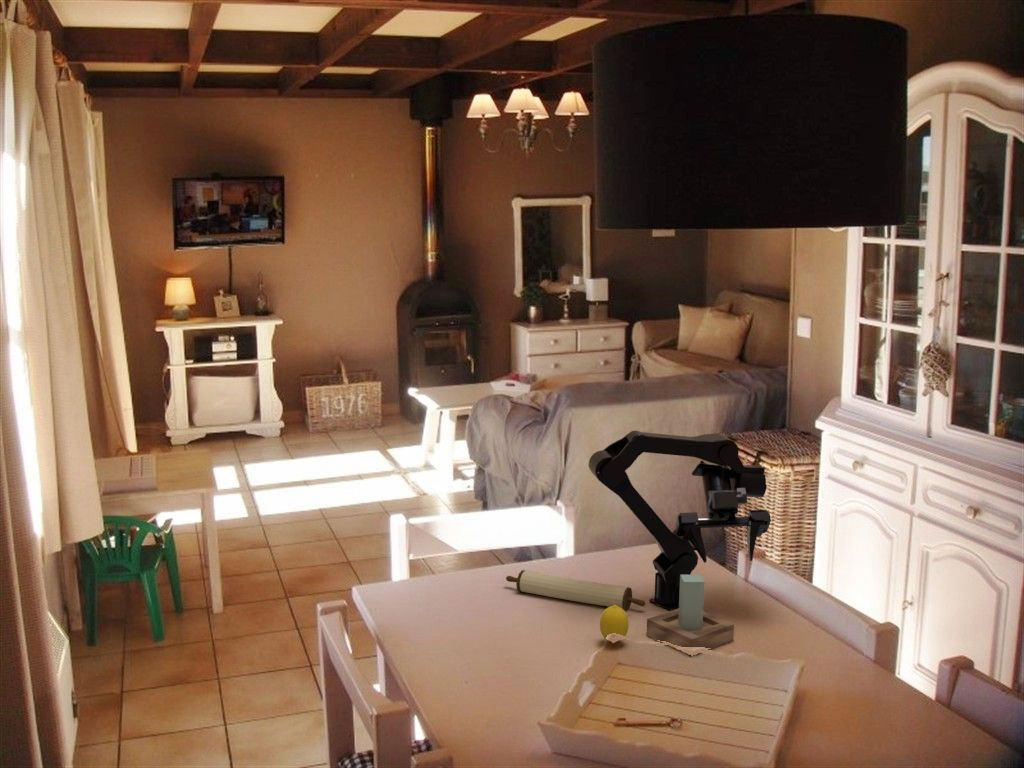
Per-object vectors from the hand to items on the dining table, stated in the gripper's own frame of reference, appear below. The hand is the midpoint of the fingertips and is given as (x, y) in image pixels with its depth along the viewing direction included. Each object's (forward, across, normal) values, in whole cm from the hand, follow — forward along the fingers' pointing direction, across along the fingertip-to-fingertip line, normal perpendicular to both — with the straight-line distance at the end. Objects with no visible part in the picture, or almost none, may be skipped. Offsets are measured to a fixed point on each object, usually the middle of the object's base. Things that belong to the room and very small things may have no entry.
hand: (728, 561), depth 209 cm
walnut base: (+14, -9, +5) cm, 17 cm away
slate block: (+12, -9, +3) cm, 15 cm away
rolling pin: (0, -31, +18) cm, 36 cm away
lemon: (+16, -24, +2) cm, 29 cm away
